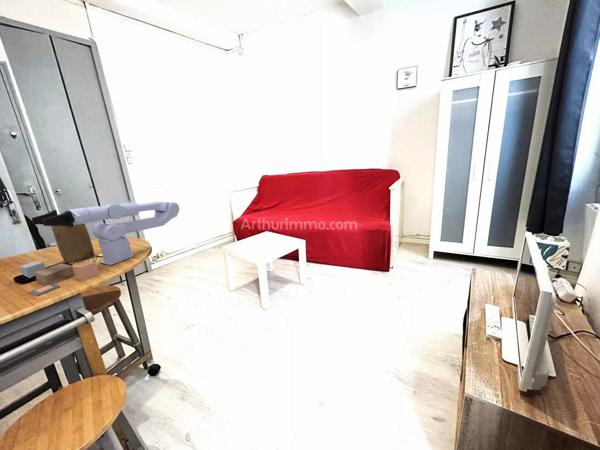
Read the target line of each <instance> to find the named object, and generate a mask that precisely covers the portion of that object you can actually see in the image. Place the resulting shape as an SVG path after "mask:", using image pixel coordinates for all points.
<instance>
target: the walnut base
mask: <svg viewBox="0 0 600 450" xmlns="http://www.w3.org/2000/svg"><path fill="white" fill-rule="evenodd" d="M72 266H73V265H69V264H66V263H58V264H56V265H52V266H50V267H47V268H46V267H45V269H43V270H40V271H37V272H34V274H35V276H36V279H35V280H36V281H37V283H39V284H43V285H44V286H45V285H48V284H51V283H52V284H56V283H59V282H62V281H64V280H67V279H70V278H72V277H75V275H74V272H73V269H72Z"/></svg>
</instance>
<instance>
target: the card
mask: <svg viewBox="0 0 600 450" xmlns="http://www.w3.org/2000/svg"><path fill="white" fill-rule="evenodd" d="M60 288H61V285H58V284H56V283H54V284H52V283H51V284H48V285H45V284H44V285H43V286H40V287H38V288H34V289H32V290H30V291H28V294H31V295H33V296H35V297H40V296H41V295H44V294H47V293H50V292H51V291H55V290H57V289H60Z"/></svg>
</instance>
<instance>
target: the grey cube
mask: <svg viewBox="0 0 600 450" xmlns="http://www.w3.org/2000/svg"><path fill="white" fill-rule="evenodd" d="M19 269H20V272H21V274H22V276H23V275H24V276H26V277H28V278H31V277H33V276H35V274H34V272H37V271H40V270H43V269H46V266H45V264H44V262H42V261H38V260H35V261H32V262H28V263H25V264H22V265H20V266H19Z"/></svg>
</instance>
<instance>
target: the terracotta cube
mask: <svg viewBox="0 0 600 450" xmlns="http://www.w3.org/2000/svg"><path fill="white" fill-rule="evenodd" d="M96 263H97V262H96V261H90V260H85V261H82V262H80V263H77V264H74V265H71V266H72V269H73V272H74V275H75V276H74V277H75V279H76V280H78V281H83V282H84V281H87V280H89V279H92V278H94V277H97V276H100V273H99V270H98V267H97V264H96Z"/></svg>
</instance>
